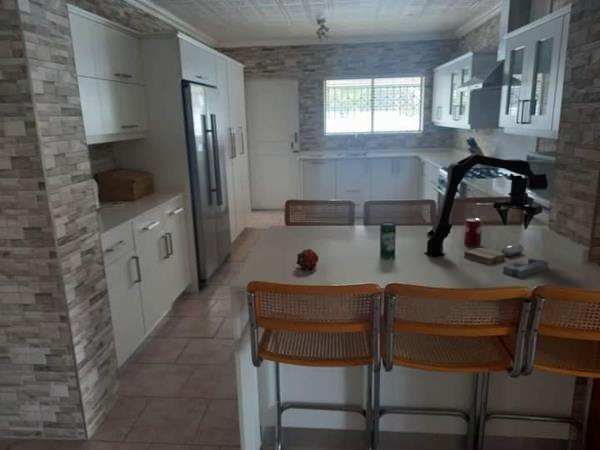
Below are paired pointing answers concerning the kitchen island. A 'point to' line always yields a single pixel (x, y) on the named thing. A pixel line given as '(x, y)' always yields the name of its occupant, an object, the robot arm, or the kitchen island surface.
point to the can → (387, 239)
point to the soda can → (473, 232)
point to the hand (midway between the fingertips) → (515, 227)
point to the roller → (512, 250)
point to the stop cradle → (526, 268)
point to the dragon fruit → (307, 259)
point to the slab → (484, 255)
